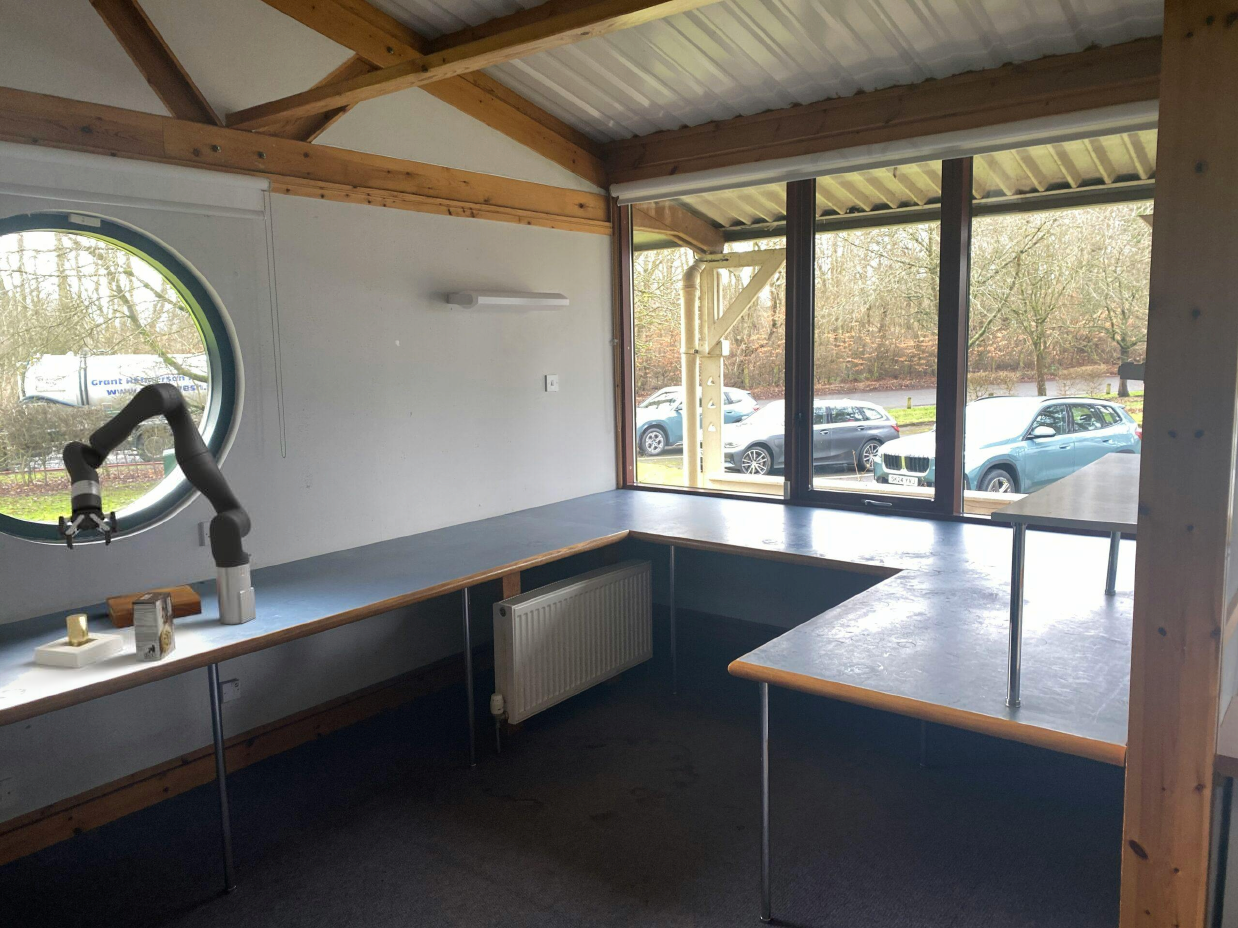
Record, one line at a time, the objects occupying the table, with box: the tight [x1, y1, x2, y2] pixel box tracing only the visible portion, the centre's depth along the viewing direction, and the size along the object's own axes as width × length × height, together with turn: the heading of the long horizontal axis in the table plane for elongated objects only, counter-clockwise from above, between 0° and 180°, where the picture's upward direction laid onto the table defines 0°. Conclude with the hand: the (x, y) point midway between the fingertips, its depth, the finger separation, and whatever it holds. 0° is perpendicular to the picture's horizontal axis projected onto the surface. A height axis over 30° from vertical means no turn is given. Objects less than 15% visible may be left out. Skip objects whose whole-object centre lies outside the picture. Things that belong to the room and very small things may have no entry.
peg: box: [66, 613, 89, 647], centre depth 229 cm, size 4×4×11 cm
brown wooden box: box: [105, 584, 203, 629], centre depth 266 cm, size 23×19×6 cm
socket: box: [33, 631, 124, 669], centre depth 229 cm, size 14×14×4 cm
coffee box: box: [132, 592, 176, 662], centre depth 229 cm, size 9×6×16 cm
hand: (89, 545), depth 242 cm, fingers open, 8 cm apart
